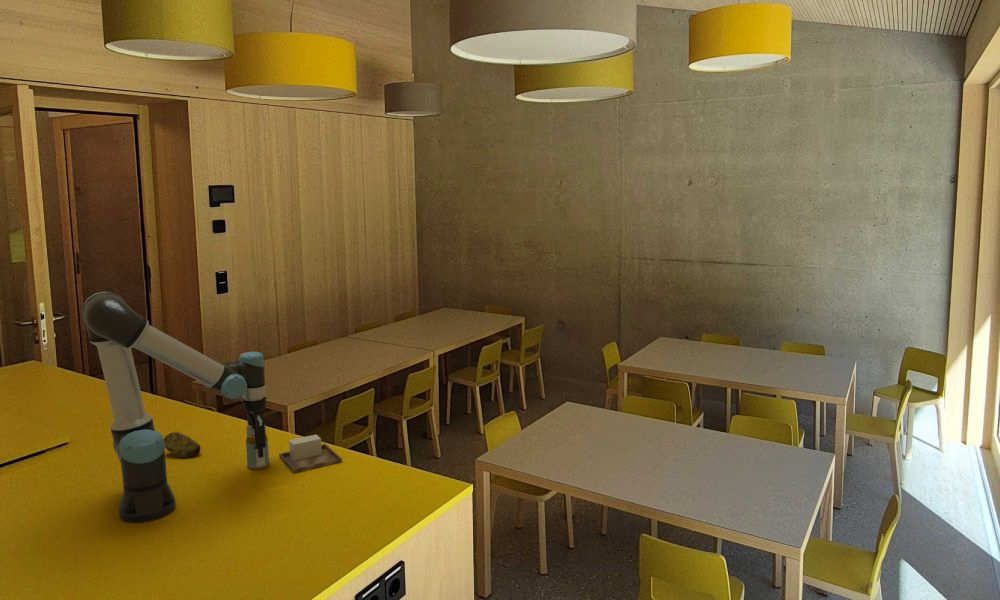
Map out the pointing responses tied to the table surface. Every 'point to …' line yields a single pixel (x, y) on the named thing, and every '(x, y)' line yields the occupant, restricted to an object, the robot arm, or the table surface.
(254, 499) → the table surface
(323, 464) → the tray
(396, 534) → the table surface
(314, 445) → the carton
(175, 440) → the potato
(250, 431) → the bottle
